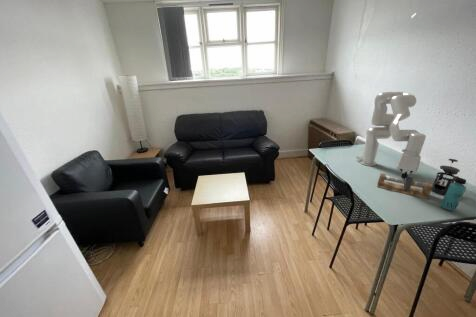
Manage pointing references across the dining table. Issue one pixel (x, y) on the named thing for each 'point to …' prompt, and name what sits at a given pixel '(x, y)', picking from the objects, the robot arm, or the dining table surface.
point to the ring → (408, 182)
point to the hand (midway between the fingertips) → (403, 178)
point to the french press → (444, 184)
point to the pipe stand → (400, 188)
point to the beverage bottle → (454, 194)
